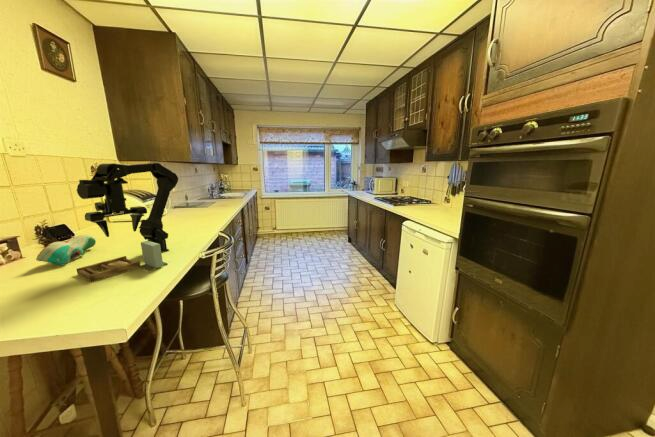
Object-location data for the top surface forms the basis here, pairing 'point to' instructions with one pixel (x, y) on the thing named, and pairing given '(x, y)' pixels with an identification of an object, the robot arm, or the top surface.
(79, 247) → the athletic shoe
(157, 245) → the grey square block
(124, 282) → the top surface
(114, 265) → the offcut stack
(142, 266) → the rubber mat
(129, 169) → the robot arm
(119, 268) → the rack
